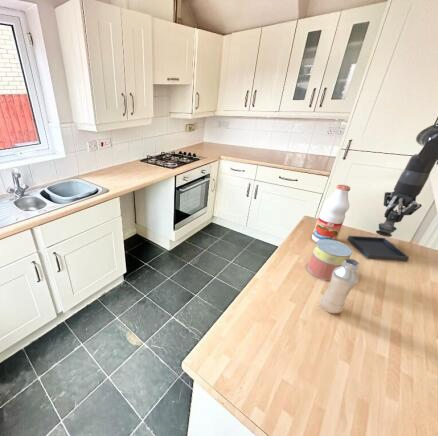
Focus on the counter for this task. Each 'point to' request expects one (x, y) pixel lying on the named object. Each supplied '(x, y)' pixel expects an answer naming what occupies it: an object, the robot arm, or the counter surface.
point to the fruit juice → (332, 215)
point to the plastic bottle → (340, 286)
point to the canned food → (328, 258)
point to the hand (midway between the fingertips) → (391, 219)
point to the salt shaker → (387, 225)
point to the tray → (377, 248)
